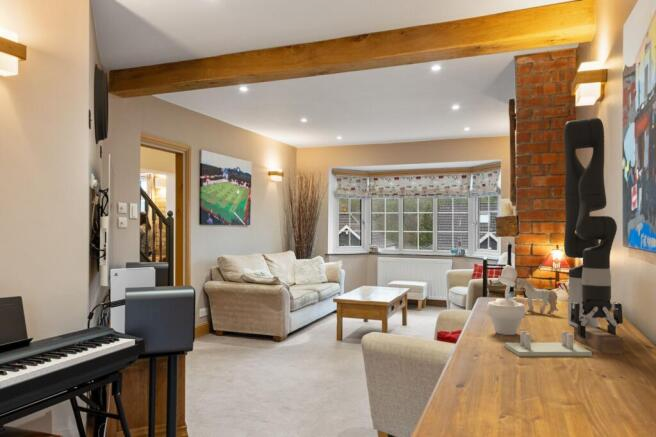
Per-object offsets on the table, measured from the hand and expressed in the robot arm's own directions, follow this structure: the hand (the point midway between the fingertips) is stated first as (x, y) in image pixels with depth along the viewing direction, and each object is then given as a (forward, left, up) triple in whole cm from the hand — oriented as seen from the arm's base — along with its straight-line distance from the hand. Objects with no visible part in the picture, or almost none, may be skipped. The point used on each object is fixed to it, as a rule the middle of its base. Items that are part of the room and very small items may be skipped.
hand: (596, 338), depth 138 cm
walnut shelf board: (0, 0, -3) cm, 3 cm away
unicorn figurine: (-53, +5, -3) cm, 53 cm away
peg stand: (+6, -18, -2) cm, 19 cm away
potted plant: (-16, -21, -3) cm, 27 cm away
